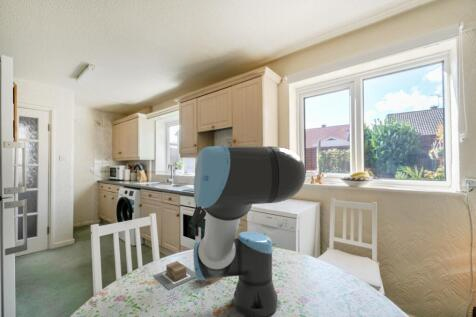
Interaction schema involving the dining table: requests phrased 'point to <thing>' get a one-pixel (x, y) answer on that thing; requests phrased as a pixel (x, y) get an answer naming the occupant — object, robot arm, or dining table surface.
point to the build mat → (170, 283)
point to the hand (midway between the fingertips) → (211, 239)
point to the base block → (176, 270)
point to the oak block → (213, 280)
